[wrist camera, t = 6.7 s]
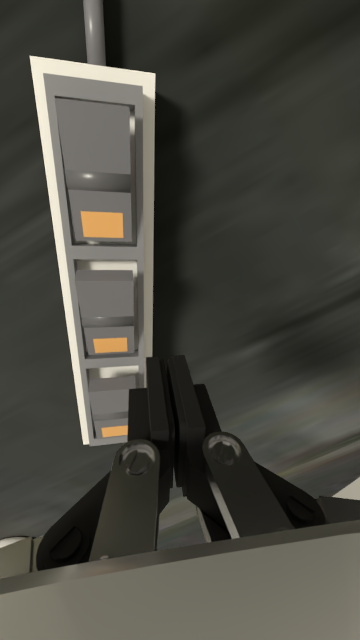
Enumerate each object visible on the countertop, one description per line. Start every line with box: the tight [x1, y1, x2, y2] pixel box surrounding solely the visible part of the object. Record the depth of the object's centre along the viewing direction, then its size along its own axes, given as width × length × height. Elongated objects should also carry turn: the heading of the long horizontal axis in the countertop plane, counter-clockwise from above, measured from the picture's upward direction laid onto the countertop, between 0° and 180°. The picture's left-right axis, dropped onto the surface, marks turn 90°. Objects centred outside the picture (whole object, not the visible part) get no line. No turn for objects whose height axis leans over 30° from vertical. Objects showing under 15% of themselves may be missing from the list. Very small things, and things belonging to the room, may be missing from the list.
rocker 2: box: [75, 270, 134, 355], centre depth 22 cm, size 4×8×2 cm, turn 177°
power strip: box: [30, 0, 155, 446], centre depth 24 cm, size 8×38×4 cm, turn 177°
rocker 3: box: [88, 376, 136, 439], centre depth 26 cm, size 4×8×2 cm, turn 177°
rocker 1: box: [54, 98, 132, 242], centre depth 18 cm, size 4×8×2 cm, turn 177°
